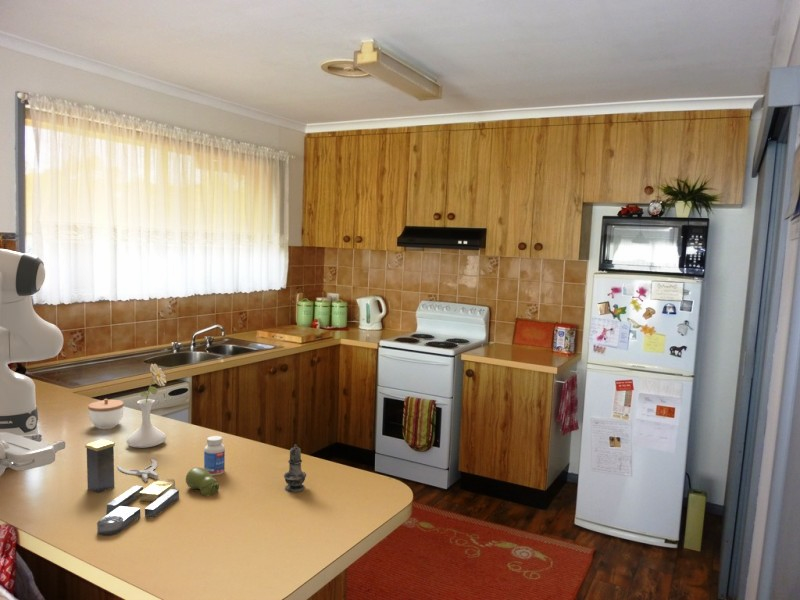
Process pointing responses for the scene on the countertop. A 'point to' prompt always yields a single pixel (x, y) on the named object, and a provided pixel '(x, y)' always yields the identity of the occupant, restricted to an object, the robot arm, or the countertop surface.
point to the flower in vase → (148, 416)
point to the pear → (202, 481)
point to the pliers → (143, 471)
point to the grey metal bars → (131, 510)
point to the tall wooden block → (100, 465)
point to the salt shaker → (295, 472)
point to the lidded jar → (106, 413)
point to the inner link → (157, 489)
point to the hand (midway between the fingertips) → (51, 440)
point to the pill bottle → (214, 456)
